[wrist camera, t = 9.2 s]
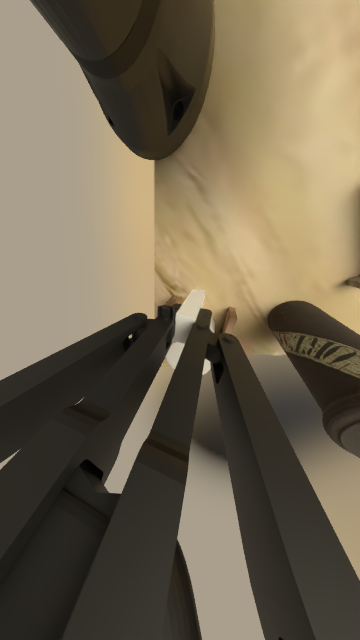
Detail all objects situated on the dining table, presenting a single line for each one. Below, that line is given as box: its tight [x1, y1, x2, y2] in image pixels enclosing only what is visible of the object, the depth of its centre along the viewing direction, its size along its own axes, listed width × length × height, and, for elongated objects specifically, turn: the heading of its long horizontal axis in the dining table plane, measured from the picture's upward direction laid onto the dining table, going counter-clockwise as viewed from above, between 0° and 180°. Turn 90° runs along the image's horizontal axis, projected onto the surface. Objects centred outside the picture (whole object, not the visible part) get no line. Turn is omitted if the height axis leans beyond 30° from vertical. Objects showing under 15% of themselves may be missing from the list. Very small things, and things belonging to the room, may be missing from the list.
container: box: [268, 301, 360, 458], centre depth 17 cm, size 9×9×20 cm
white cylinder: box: [166, 317, 215, 375], centre depth 27 cm, size 8×8×12 cm
